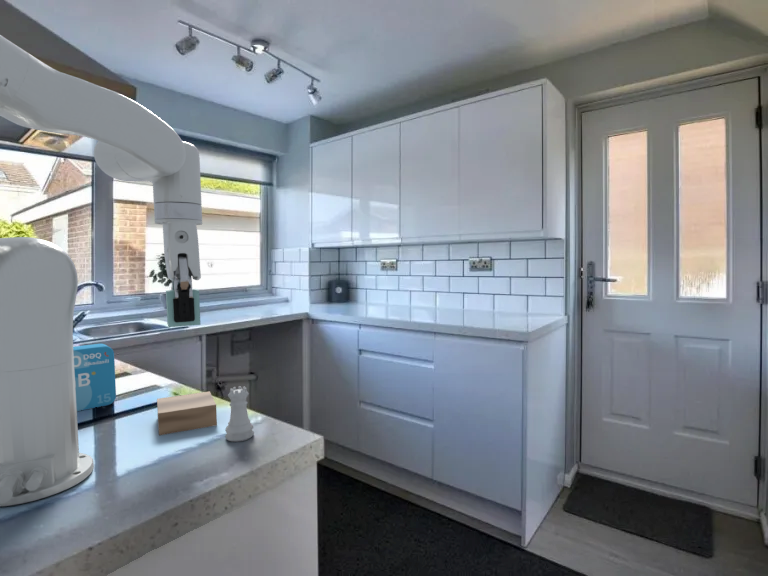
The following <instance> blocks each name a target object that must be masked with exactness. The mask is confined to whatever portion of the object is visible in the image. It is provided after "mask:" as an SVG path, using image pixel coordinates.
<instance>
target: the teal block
mask: <svg viewBox="0 0 768 576" xmlns="http://www.w3.org/2000/svg"><path fill="white" fill-rule="evenodd" d="M192 292H193V298H194V312H195V320H194V321H190V322H175V321H174V309H173V299H175V294H174V290H172V289H165V298H166V299H165V300H166V302H165V303H166V323H167V324H166V325H167V327H168V328H174V327H175V328H176V327H189V326H200V325H201V304H200V303H201V302H200V290H199V289H198V288H192Z"/></svg>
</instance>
